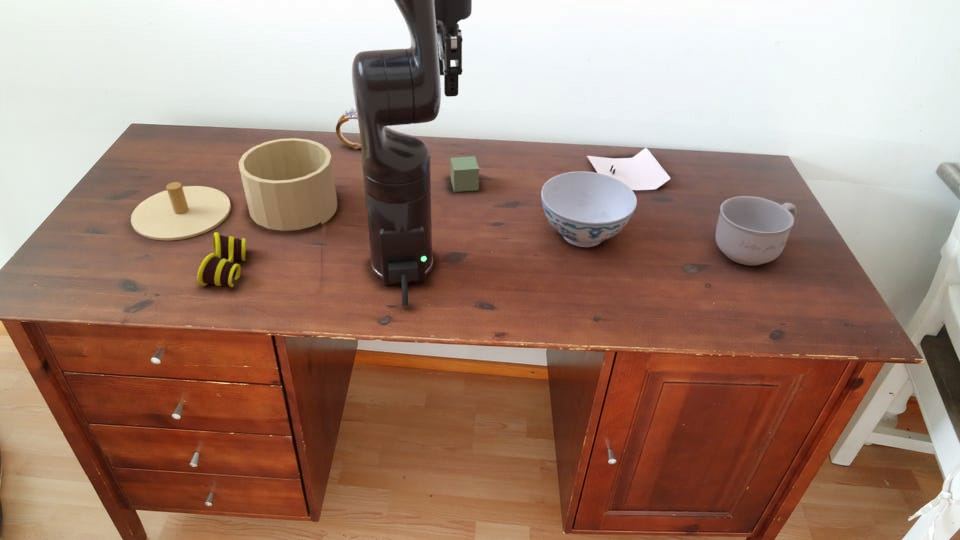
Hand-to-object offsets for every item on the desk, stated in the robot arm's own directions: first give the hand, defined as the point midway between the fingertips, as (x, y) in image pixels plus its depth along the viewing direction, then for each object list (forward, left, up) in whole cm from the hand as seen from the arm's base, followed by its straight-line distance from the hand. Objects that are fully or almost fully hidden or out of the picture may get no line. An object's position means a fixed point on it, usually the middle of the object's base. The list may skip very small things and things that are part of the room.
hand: (447, 84), depth 110 cm
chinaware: (-21, -20, -18) cm, 34 cm away
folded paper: (-3, -34, -18) cm, 38 cm away
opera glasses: (-23, +36, -18) cm, 47 cm away
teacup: (-29, -46, -18) cm, 57 cm away
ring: (+13, +16, -18) cm, 28 cm away
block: (-3, -3, -18) cm, 18 cm away
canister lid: (-7, +45, -17) cm, 49 cm away
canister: (-7, +27, -18) cm, 33 cm away
